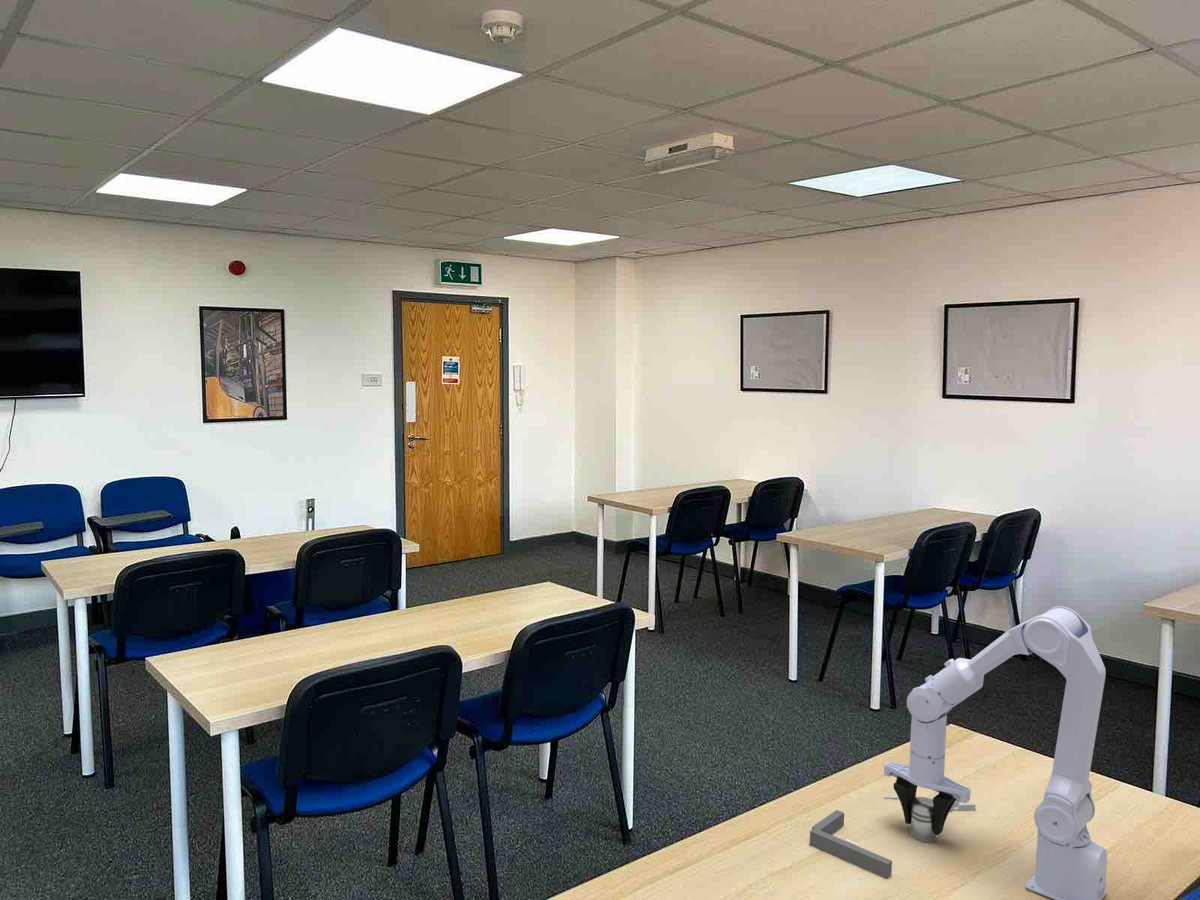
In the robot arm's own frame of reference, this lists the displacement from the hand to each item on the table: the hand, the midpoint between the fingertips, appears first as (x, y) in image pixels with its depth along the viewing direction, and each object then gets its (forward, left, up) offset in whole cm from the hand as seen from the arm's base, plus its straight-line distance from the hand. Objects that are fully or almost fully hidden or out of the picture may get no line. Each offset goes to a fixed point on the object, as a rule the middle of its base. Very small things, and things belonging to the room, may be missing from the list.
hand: (923, 827), depth 149 cm
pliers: (+3, -11, -2) cm, 12 cm away
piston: (0, 0, -2) cm, 2 cm away
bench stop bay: (+6, +12, -2) cm, 13 cm away
